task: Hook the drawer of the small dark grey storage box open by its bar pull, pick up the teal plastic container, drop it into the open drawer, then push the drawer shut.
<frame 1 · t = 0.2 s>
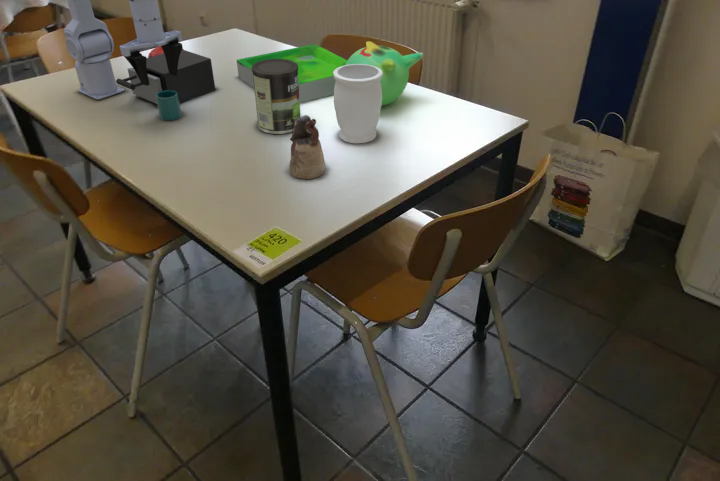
hand: (159, 79, 129), 10 cm above the table, tool pointing down, fingers open, 7 cm apart
coffee can: (279, 125, 134), on the table
tray: (300, 82, 156), on the table
container: (170, 115, 137), on the table
drawer: (157, 82, 144), point 4 cm above the table, slide at 1.0 cm
figurine: (307, 171, 116), on the table
butter dish: (170, 71, 162), on the table
jar: (357, 136, 129), on the table
toy bird: (376, 103, 145), on the table
dark grey storage box: (178, 92, 150), on the table
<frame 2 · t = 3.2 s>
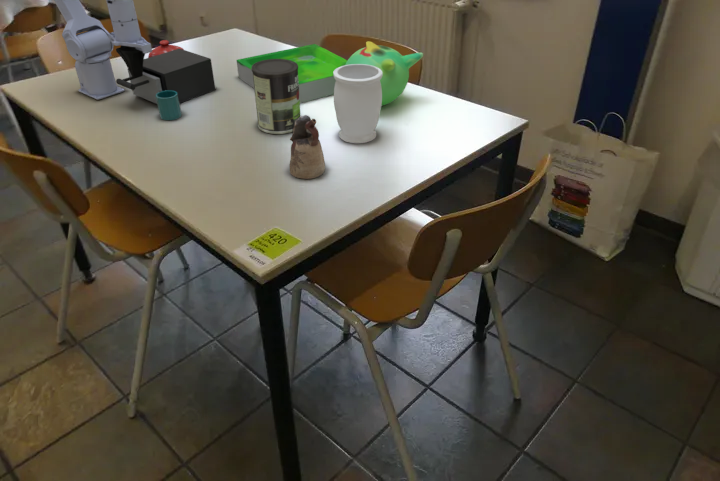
hand: (137, 76, 139), 7 cm above the table, tool pointing down, fingers closed, pressing on drawer
drawer: (157, 82, 144), point 4 cm above the table, slide at 1.0 cm, touching gripper
everything else where it was.
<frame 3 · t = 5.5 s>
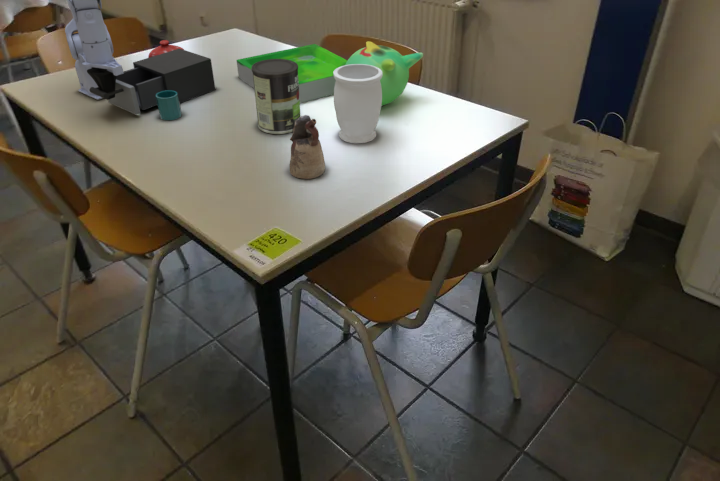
hand: (109, 97, 135), 4 cm above the table, tool pointing down, fingers closed, pressing on drawer
drawer: (133, 90, 139), point 4 cm above the table, slide at 8.0 cm, touching gripper
everything else where it was.
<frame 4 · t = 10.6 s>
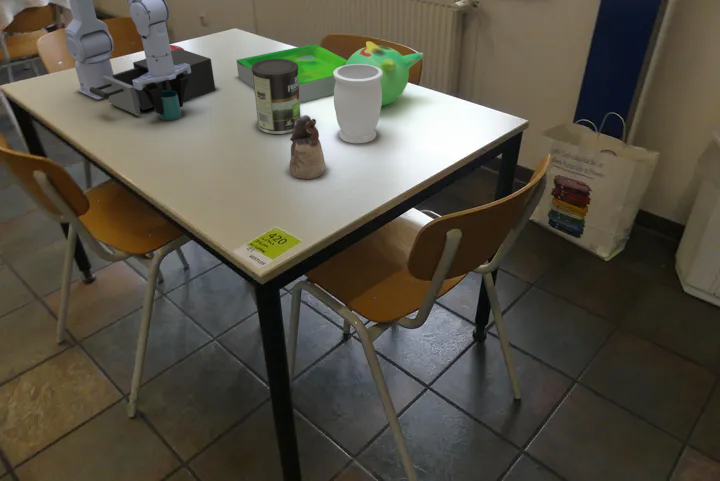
hand: (169, 109, 136), 2 cm above the table, tool pointing down, fingers closed on container, 5 cm apart
container: (171, 115, 137), on the table, touching gripper
drawer: (133, 90, 139), point 4 cm above the table, slide at 8.0 cm
everything else where it was.
when the fingers open (6 cm above the table, at t = 15.6 s): container drops 2 cm, point 2 cm above the table.
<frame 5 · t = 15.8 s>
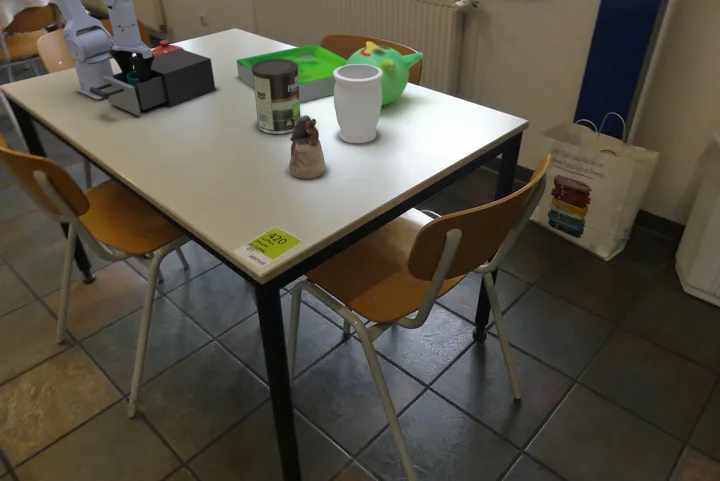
hand: (137, 80, 139), 6 cm above the table, tool pointing down, fingers open, 6 cm apart
container: (141, 96, 141), point 2 cm above the table, tilted 5°, touching gripper
everything else where it was.
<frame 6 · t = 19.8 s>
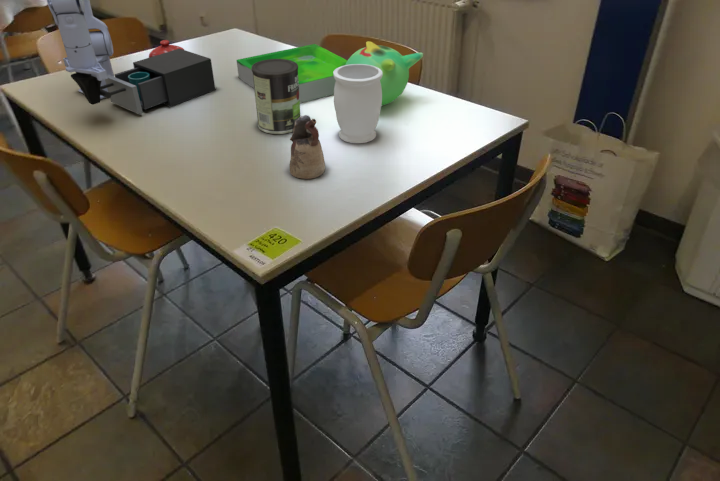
hand: (94, 102, 133), 4 cm above the table, tool pointing down, fingers closed, pressing on drawer
container: (143, 96, 142), point 2 cm above the table, touching drawer
drawer: (135, 89, 140), point 4 cm above the table, slide at 7.5 cm, touching container, gripper
everything else where it was.
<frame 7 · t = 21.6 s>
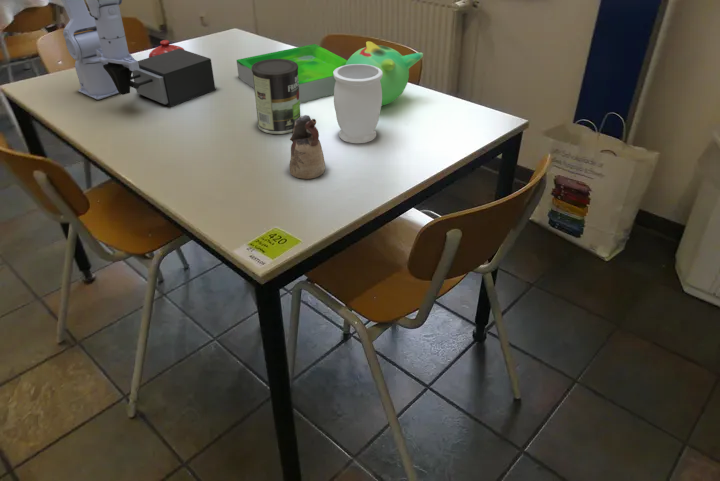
hand: (124, 93, 138), 4 cm above the table, tool pointing down, fingers closed, pressing on drawer
container: (168, 88, 147), point 2 cm above the table, touching drawer
drawer: (161, 81, 144), point 4 cm above the table, slide at 0.0 cm, touching dark grey storage box, container, gripper
everything else where it was.
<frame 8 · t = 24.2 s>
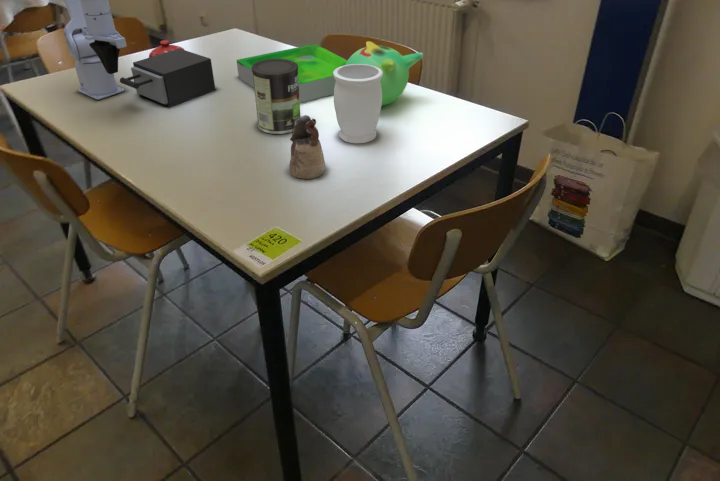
hand: (112, 72, 133), 10 cm above the table, tool pointing down, fingers closed
drawer: (161, 81, 144), point 4 cm above the table, slide at 0.0 cm, touching dark grey storage box, container
everything else where it was.
at the end: drawer pulled out 8.0 cm at the most during the clip, back to where it started at the end; container inside the target area in the dark grey storage box (2.7 cm from its centre), point 1.9 cm above the dark grey storage box's base; drawer slide at 0.0 cm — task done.
